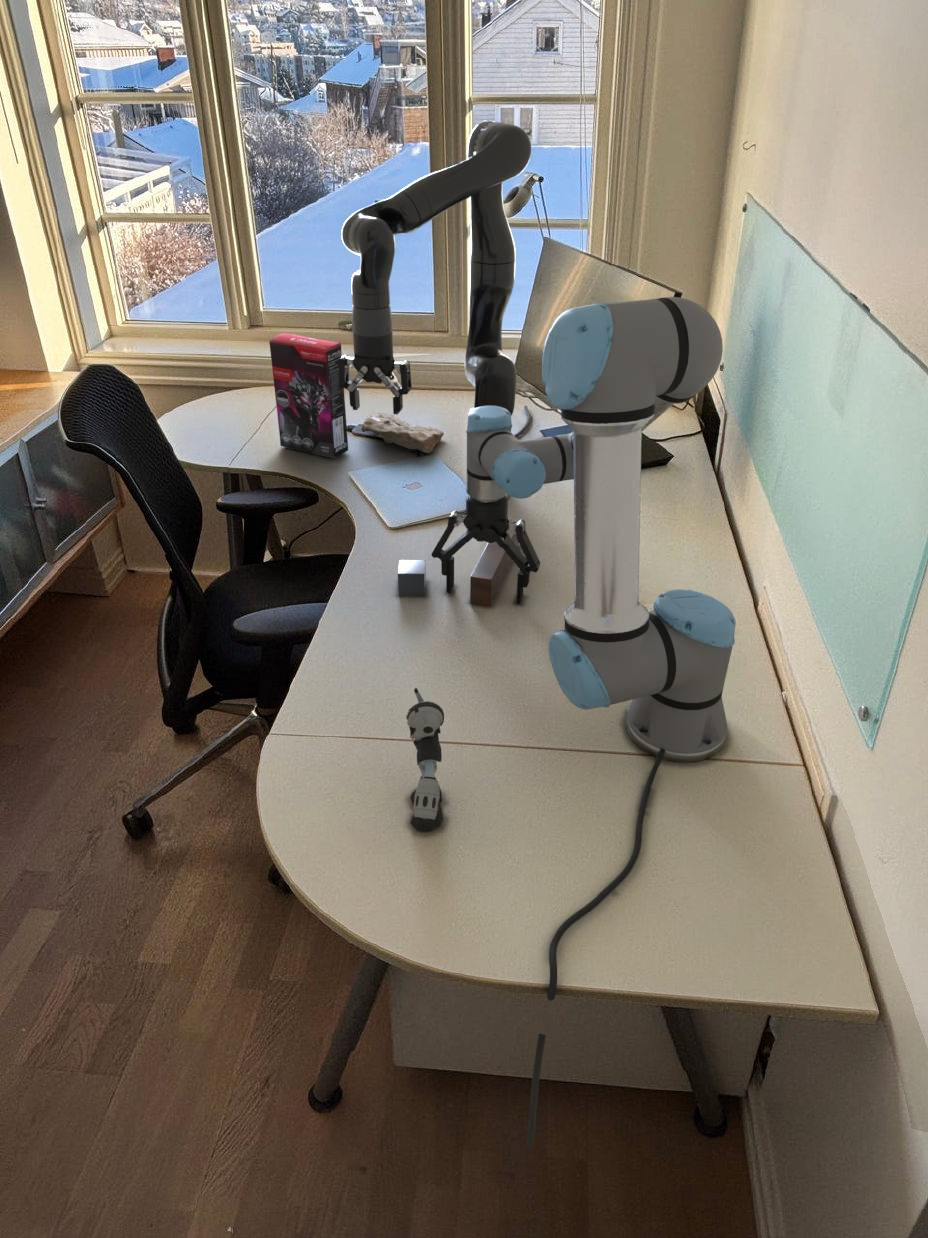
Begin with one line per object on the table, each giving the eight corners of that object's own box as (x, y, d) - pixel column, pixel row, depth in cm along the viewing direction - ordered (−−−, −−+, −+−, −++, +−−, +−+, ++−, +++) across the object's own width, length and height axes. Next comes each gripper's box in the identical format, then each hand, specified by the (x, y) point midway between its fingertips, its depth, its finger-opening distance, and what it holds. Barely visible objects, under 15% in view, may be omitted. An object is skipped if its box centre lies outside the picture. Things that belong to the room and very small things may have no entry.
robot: (446, 864, 120) (446, 749, 109) (409, 865, 120) (405, 750, 109) (442, 761, 137) (441, 652, 126) (409, 762, 136) (405, 652, 125)
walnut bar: (490, 607, 172) (491, 579, 169) (470, 603, 173) (470, 576, 169) (518, 546, 191) (519, 520, 188) (499, 543, 192) (500, 518, 189)
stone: (345, 437, 230) (349, 413, 227) (367, 428, 243) (371, 405, 241) (423, 461, 226) (429, 437, 224) (441, 451, 239) (446, 428, 237)
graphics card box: (278, 447, 232) (266, 338, 217) (294, 437, 237) (284, 331, 222) (334, 460, 225) (326, 350, 210) (350, 450, 230) (343, 341, 215)
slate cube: (424, 596, 175) (424, 573, 172) (398, 595, 175) (397, 573, 172) (425, 582, 179) (425, 560, 176) (400, 582, 179) (399, 559, 176)
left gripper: (414, 326, 176) (416, 408, 185) (344, 320, 179) (349, 400, 188) (402, 337, 169) (404, 421, 179) (329, 331, 173) (335, 413, 182)
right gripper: (560, 493, 164) (553, 594, 175) (426, 476, 169) (427, 575, 181) (552, 512, 158) (545, 615, 169) (413, 493, 163) (416, 595, 175)
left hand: (376, 410), depth 183 cm, fingers open, 8 cm apart
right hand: (484, 594), depth 175 cm, fingers open, 13 cm apart
